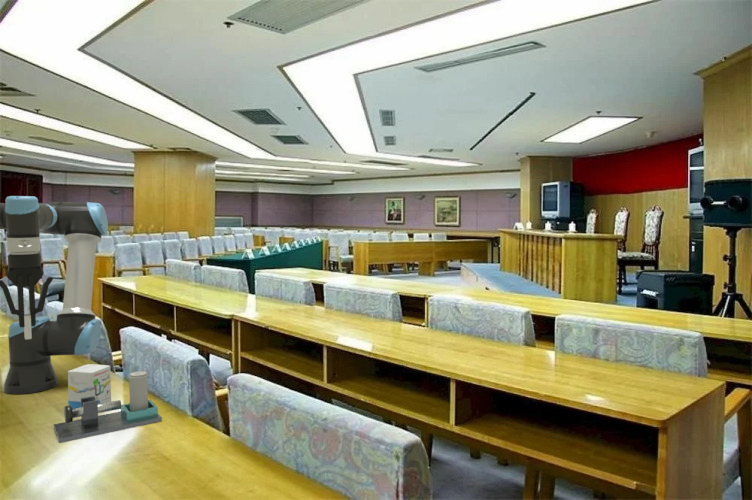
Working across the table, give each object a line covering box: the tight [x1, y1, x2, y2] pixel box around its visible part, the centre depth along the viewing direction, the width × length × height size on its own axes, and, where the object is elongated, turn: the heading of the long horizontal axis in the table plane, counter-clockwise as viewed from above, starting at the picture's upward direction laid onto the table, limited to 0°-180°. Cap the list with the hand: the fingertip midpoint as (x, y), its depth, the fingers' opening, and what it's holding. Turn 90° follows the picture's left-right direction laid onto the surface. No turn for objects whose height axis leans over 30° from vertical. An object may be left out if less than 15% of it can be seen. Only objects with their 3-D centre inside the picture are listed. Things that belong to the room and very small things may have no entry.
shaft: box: [63, 399, 122, 423], centre depth 147 cm, size 4×13×4 cm, turn 127°
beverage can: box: [128, 370, 149, 412], centre depth 154 cm, size 5×5×12 cm
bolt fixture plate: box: [53, 396, 163, 443], centre depth 149 cm, size 12×25×8 cm, turn 127°
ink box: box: [67, 363, 112, 409], centre depth 164 cm, size 8×8×12 cm
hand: (28, 338), depth 149 cm, fingers closed
